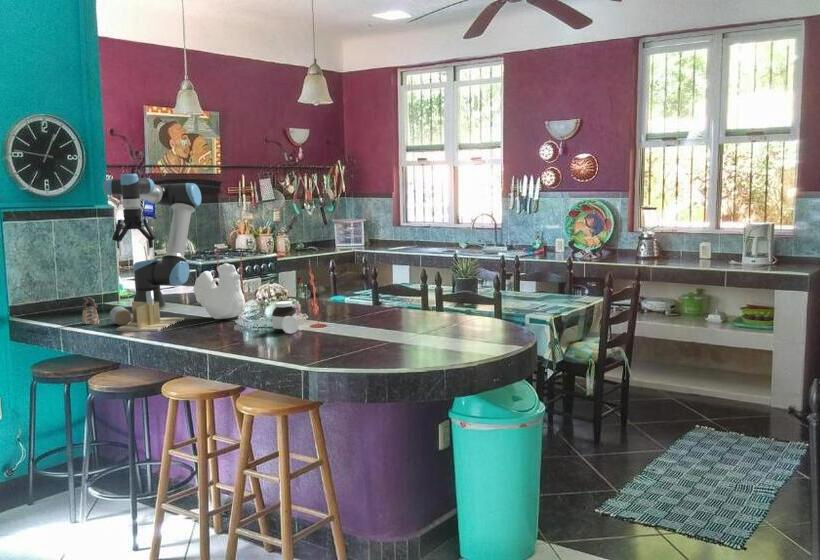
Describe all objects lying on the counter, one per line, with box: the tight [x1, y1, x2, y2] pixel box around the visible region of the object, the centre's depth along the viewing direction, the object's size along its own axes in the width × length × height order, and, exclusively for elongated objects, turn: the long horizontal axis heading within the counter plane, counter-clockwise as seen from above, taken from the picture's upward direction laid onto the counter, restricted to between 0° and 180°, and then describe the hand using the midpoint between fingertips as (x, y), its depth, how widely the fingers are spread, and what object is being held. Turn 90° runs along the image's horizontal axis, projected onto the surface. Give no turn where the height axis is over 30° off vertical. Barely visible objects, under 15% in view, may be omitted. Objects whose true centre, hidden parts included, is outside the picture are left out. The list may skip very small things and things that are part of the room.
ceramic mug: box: [109, 305, 134, 326], centre depth 341 cm, size 11×8×8 cm
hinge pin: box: [146, 291, 154, 304], centre depth 334 cm, size 3×3×14 cm
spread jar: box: [271, 300, 299, 335], centre depth 312 cm, size 12×11×12 cm
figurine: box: [81, 296, 101, 326], centre depth 345 cm, size 7×7×12 cm
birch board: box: [115, 317, 185, 332], centre depth 336 cm, size 24×19×1 cm
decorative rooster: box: [192, 263, 246, 320], centre depth 347 cm, size 25×16×25 cm, turn 55°
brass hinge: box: [131, 300, 161, 329], centre depth 332 cm, size 15×14×9 cm
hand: (135, 255), depth 351 cm, fingers open, 13 cm apart
